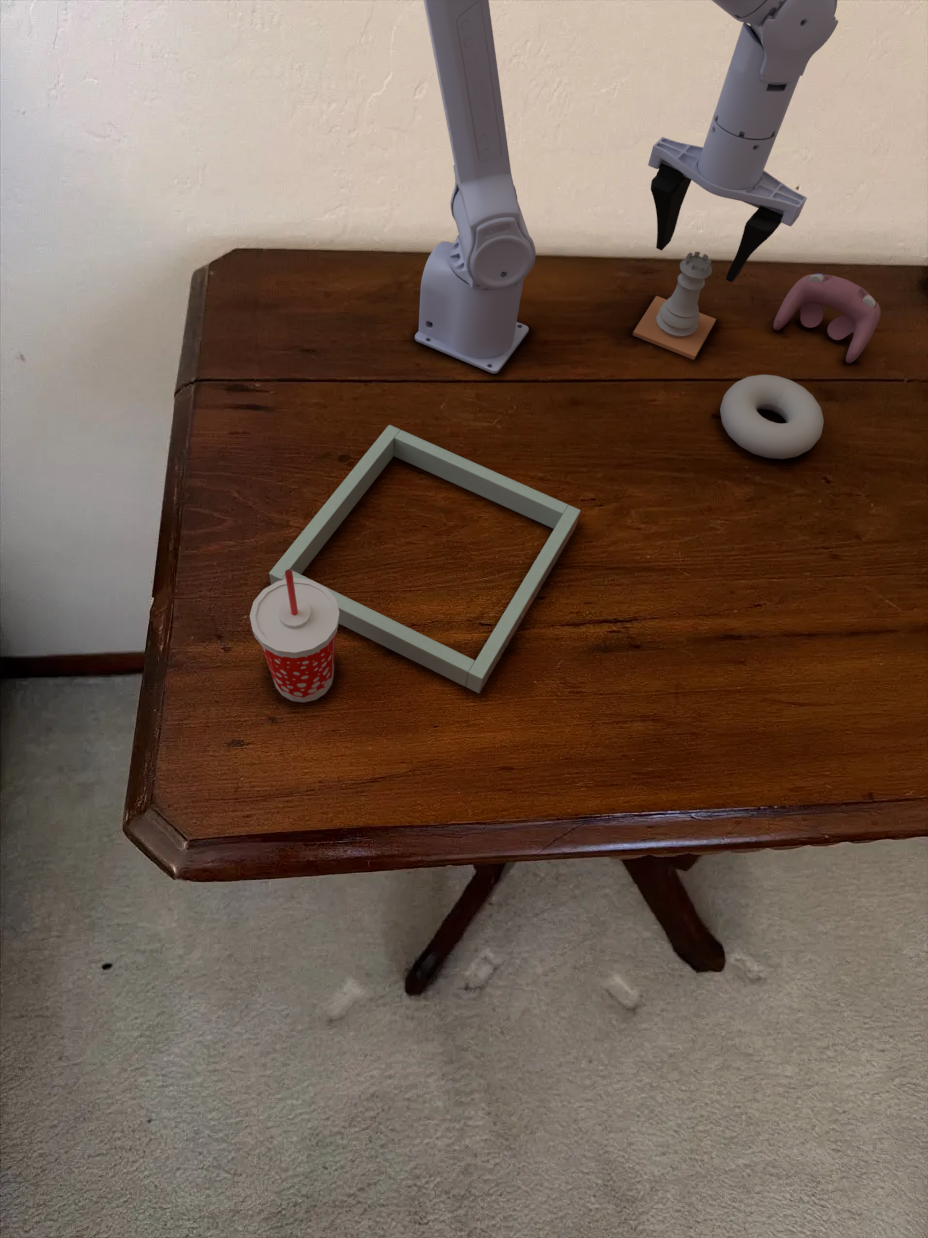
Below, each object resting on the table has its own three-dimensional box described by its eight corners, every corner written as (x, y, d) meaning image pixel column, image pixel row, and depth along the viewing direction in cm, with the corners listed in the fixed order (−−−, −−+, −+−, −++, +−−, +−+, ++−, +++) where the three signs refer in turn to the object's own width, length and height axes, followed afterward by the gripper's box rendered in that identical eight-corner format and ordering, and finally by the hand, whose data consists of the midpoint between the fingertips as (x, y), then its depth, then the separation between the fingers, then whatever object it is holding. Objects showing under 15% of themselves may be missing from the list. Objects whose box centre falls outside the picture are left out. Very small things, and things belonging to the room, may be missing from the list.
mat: (632, 335, 93) (633, 331, 93) (655, 299, 97) (656, 295, 96) (693, 360, 92) (695, 356, 91) (714, 322, 95) (716, 318, 95)
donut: (712, 455, 85) (816, 475, 84) (724, 429, 82) (831, 450, 81) (717, 385, 90) (814, 403, 90) (728, 358, 87) (828, 377, 87)
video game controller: (856, 361, 96) (893, 298, 92) (853, 367, 93) (891, 302, 89) (773, 323, 98) (806, 260, 95) (767, 328, 95) (801, 262, 91)
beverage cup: (282, 632, 70) (263, 523, 58) (355, 655, 70) (350, 549, 58) (250, 697, 67) (223, 596, 55) (326, 721, 67) (315, 624, 55)
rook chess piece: (646, 318, 94) (667, 252, 87) (679, 306, 95) (702, 240, 89) (672, 344, 92) (695, 278, 85) (704, 332, 94) (730, 266, 87)
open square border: (271, 590, 72) (268, 572, 70) (388, 443, 82) (389, 423, 80) (479, 694, 69) (482, 679, 67) (575, 527, 79) (581, 509, 76)
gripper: (840, 133, 76) (779, 269, 87) (690, 73, 79) (650, 212, 91) (812, 169, 72) (752, 306, 84) (656, 104, 76) (619, 245, 87)
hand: (697, 260), depth 87 cm, fingers open, 7 cm apart
